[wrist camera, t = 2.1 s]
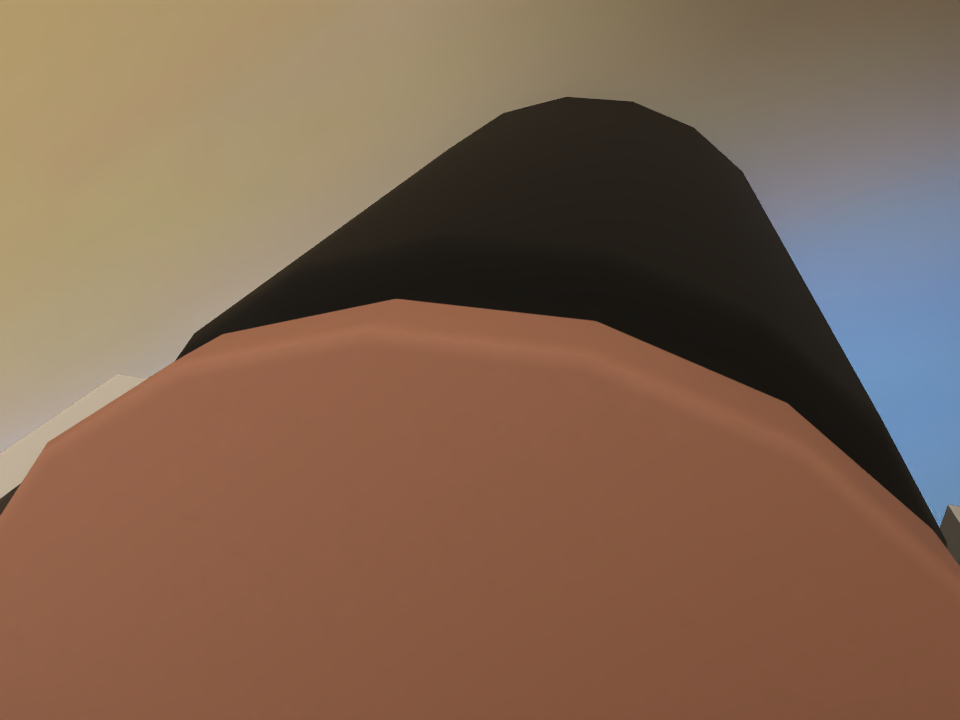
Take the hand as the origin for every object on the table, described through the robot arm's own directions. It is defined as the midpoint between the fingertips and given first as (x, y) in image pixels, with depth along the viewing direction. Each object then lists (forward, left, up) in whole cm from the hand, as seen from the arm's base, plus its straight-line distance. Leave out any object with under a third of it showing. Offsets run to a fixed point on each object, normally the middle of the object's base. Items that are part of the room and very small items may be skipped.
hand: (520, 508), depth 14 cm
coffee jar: (0, 0, -12) cm, 12 cm away
